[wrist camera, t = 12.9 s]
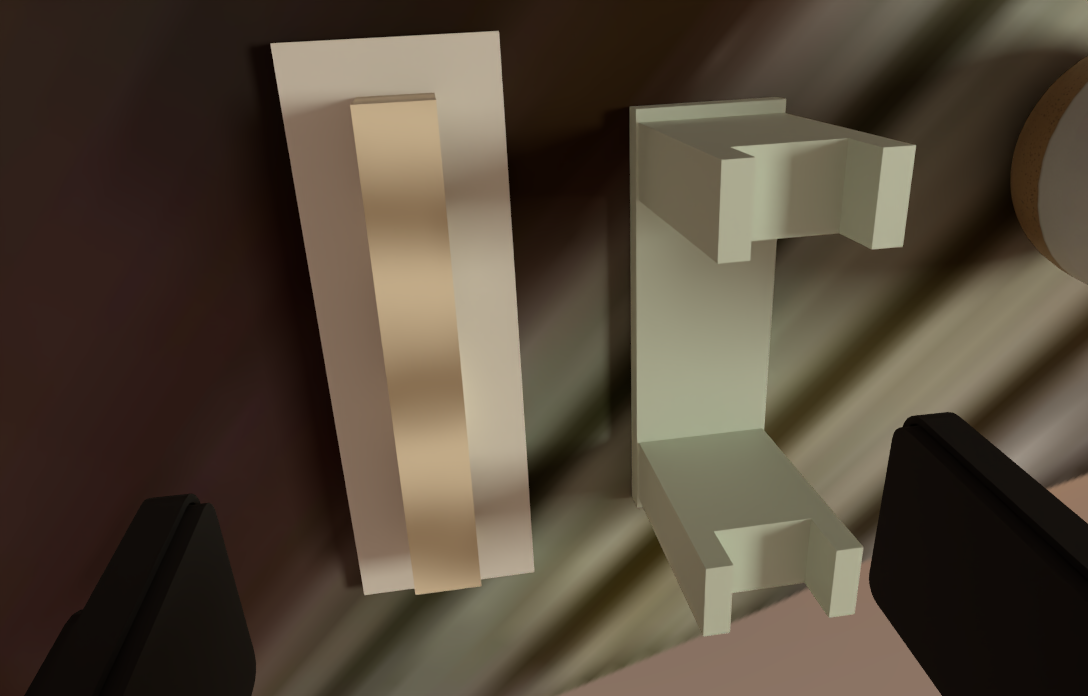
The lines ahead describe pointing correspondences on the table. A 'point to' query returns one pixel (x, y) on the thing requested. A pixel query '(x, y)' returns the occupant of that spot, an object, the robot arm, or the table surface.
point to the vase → (1056, 173)
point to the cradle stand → (737, 335)
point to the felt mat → (349, 295)
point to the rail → (419, 332)
